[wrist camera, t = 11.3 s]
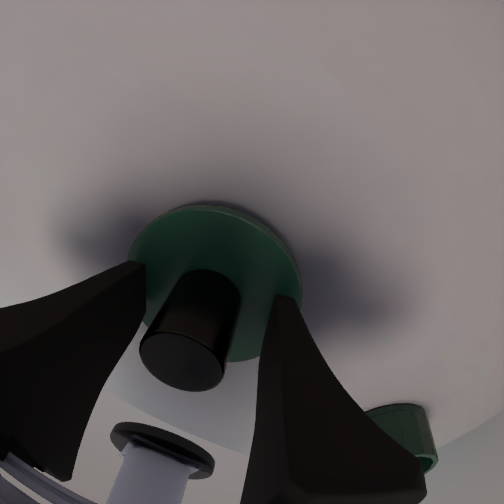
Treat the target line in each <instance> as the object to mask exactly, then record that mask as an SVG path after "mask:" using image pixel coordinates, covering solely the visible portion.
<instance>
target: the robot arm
mask: <svg viewBox="0 0 504 504" xmlns="http://www.w3.org/2000/svg"><path fill="white" fill-rule="evenodd" d="M146 311H147V308H146V264H143V263H139V262H135V261H131V260H130V261H127V262H124V263H122V264H119V265H117V266H115V267H113V268H110V269H108V270H106V271H104V272H102V273H99V274H97V275H95V276H93V277H91V278H89V279H86V280H84V281H82V282H80V283H77V284H75V285H72V286H70V287H68V288H65V289H63V290H61V291H58V292H56V293H53V294H50V295H47V296H44V297H41V298H38V299H35V300H32V301H29V302H25V303H21V304H16V305H12V306H8V307H4V308H0V467H1V468H2V469H3V470H5V471H6V472H7V473H9V474H10V475H11V476H13V477H14V478H15V479H17V480H18V481H19V482H21V483H22V484H24V485H25V486H26V487H28V488H30V489H31V490H32V491H34V492H35V493H37V494H38V495H40V496H42V497H43V498H45V499H46V500H48V501H50V502H51V503H53V504H97V503H95V502H92V501H90V500H88V499H86V498H84V497H82V496H80V495H78V494H76V493H74V492H73V491H71V490H69V489H67V488H65V487H63V486H62V485H60V484H58V483H56V482H55V481H53V480H51V479H49V478H48V477H46V476H44V475H43V474H41V473H40V472H38V471H37V470H35V469H34V467H36V468H37V469H39V470H40V471H42V472H46V473H48V474H49V475H51V476H53V477H54V478H56V479H58V480H60V481H61V482H65V481H69V480H71V478H72V473H73V469H74V465H75V461H76V457H77V453H78V450H79V447H80V443H81V440H82V437H83V434H84V431H85V428H86V426H87V423H88V421H89V418H90V415H91V413H92V410H93V408H94V406H95V403H96V401H97V399H98V396H99V394H100V392H101V390H102V388H103V386H104V384H105V382H106V380H107V379H108V377H109V375H110V374H111V372H112V370H113V369H114V367H115V366H116V364H117V363H118V361H119V359H120V358H121V356H122V355H123V353H124V352H125V350H126V348H127V347H128V345H129V344H130V342H131V341H132V339H133V337H134V336H135V334H136V332H137V330H138V328H139V326H140V324H141V322H142V320H143V318H144V315H145V313H146ZM120 457H122V458H124V461H123V464H122V466H121V468H120V471H119V473H118V476H117V478H116V481H115V483H114V486H113V488H112V491H111V493H110V495H109V498H108V500H107V503H106V504H181V502H182V499H183V495H184V491H185V488H186V484H187V481H188V477H189V475H191V474H193V473H194V472H196V471H198V470H200V469H202V468H204V464H203V463H201V462H198V461H196V460H193V459H191V458H188V457H186V456H183V455H181V454H178V453H176V452H173V451H171V450H169V449H166V448H164V447H162V446H160V445H157V444H155V443H153V442H151V441H149V440H147V439H145V438H143V437H141V436H139V435H136V434H133V435H132V437H131V438H130V440H129V441H128V443H127V444H126V446H125V447H124V448H123V450H122V451H121V453H120ZM426 495H427V490H426V483H425V477H424V472H423V468H422V464H421V460H420V459H418V458H417V457H416V456H414V455H413V454H412V453H410V452H409V451H408V450H406V449H405V448H404V447H402V446H401V445H400V444H399V443H397V442H396V441H395V440H393V439H392V438H391V437H390V436H389V435H388V434H387V433H385V432H384V431H383V430H382V429H381V428H380V427H379V426H378V425H377V424H376V423H375V422H374V421H373V420H372V419H371V418H370V417H369V416H368V415H367V414H366V413H365V412H364V411H363V410H362V409H361V408H360V407H359V405H358V404H357V403H356V402H355V401H354V400H353V399H352V398H351V396H350V395H349V394H348V393H347V392H346V390H345V389H344V388H343V386H342V385H341V384H340V382H339V381H338V380H337V378H336V377H335V375H334V374H333V372H332V371H331V369H330V368H329V366H328V365H327V363H326V361H325V360H324V358H323V356H322V355H321V353H320V351H319V349H318V347H317V346H316V344H315V342H314V340H313V338H312V336H311V334H310V332H309V330H308V328H307V326H306V324H305V321H304V319H303V317H302V314H301V312H300V310H299V307H298V305H297V302H296V300H295V299H294V298H292V297H288V296H283V295H278V294H276V295H275V299H274V302H273V306H272V310H271V313H270V317H269V320H268V324H267V328H266V331H265V335H264V338H263V343H262V349H261V355H260V361H259V369H258V386H257V403H256V420H255V429H254V436H253V441H252V447H251V452H250V458H249V463H248V468H247V473H246V478H245V483H244V488H243V492H242V497H241V502H240V504H418V503H420V502H421V501H422V500H423V499H424V498H425V497H426ZM0 504H40V503H38V502H36V501H35V500H34V499H32V498H31V497H29V496H28V495H26V494H25V493H23V492H22V491H21V490H19V489H18V488H16V487H15V486H14V485H12V484H11V483H10V482H8V481H7V480H6V479H4V478H3V477H2V476H1V474H0Z"/></svg>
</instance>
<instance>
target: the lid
mask: <svg viewBox="0 0 504 504" xmlns="http://www.w3.org/2000/svg"><path fill="white" fill-rule="evenodd" d="M130 260H131V261H135V262H139V263H143V264H146V308H147V311H146V313H145V315H144V318H143V320H142V321H143V322H144V323H145V325H146V326H147V327H148V330H147V331H146V333H145V335H144V336H143V338H142V340H141V342H140V346H139V353H140V357H141V360H142V362H143V364H144V365H145V367H146V368H147V369H148V371H149V372H150V373H151V374H152V375H153V376H155V377H156V378H157V379H159V380H160V381H162V382H163V383H165V384H167V385H169V386H171V387H174V388H176V389H180V390H184V391H190V392H201V391H206V390H210V389H212V388H214V387H216V386H217V385H218V384H219V383H220V382H221V381H222V379H223V377H224V374H225V370H226V366H227V362H239V361H245V360H249V359H253V358H256V357H259V356H260V355H261V349H262V343H263V338H264V335H265V331H266V328H267V324H268V320H269V317H270V313H271V310H272V306H273V302H274V299H275V295H276V294H278V295H283V296H288V297H292V298H294V299H295V300H296V302H297V305H298V307H299V310H301V305H302V286H301V278H300V274H299V271H298V267H297V265H296V263H295V260H294V258H293V256H292V254H291V253H290V251H289V250H288V248H287V247H286V245H285V244H284V243H283V242H282V241H281V239H280V238H279V237H278V236H277V235H276V234H275V233H274V232H273V231H271V230H270V229H269V228H268V227H267V226H265V225H264V224H262V223H261V222H260V221H258V220H257V219H255V218H253V217H251V216H249V215H247V214H245V213H243V212H240V211H237V210H234V209H231V208H227V207H222V206H218V205H206V204H203V205H190V206H184V207H180V208H177V209H174V210H171V211H169V212H167V213H165V214H163V215H161V216H159V217H158V218H157V219H155V220H154V221H153V222H151V223H150V224H149V225H148V226H147V227H146V228H145V229H144V230H143V231H142V232H141V233H140V234H139V235H138V237H137V238H136V240H135V241H134V243H133V245H132V247H131V249H130V251H129V255H128V258H127V261H130Z"/></svg>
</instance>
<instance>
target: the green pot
mask: <svg viewBox="0 0 504 504" xmlns="http://www.w3.org/2000/svg"><path fill="white" fill-rule="evenodd" d="M366 414H367V415H368V416H369V417H370V418H371V419H372V420H373V421H374V422H375V423H376V424H377V425H378V426H379V427H380V428H381V429H382V430H383V431H384V432H385V433H387V434H388V435H389V436H390V437H391V438H392V439H393V440H395V441H396V442H397V443H399V444H400V445H401V446H402V447H404V448H405V449H406V450H408V451H409V452H410V453H412V454H413V455H414V456H416V457H417V458H418V459H420V460H421V464H422V468H423V472H424V475H425V474H426V473H427V472H429V471H430V470H431V469H433V468H434V467H435V465H436V463H437V462H438V456H437V452H436V448H435V444H434V440H433V436H432V432H431V429H430V425H429V422H428V419H427V417H426V413H425V411H424V410H423V409H422V408H421V407H419V406H416V405H411V404H397V405H390V406H385V407H381V408H377V409H374V410H371V411H368V412H366Z"/></svg>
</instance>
